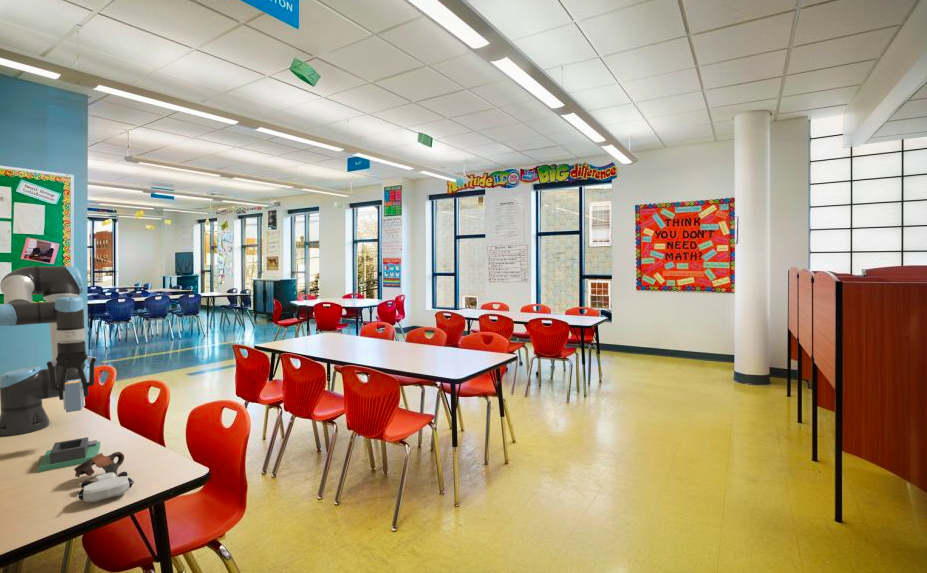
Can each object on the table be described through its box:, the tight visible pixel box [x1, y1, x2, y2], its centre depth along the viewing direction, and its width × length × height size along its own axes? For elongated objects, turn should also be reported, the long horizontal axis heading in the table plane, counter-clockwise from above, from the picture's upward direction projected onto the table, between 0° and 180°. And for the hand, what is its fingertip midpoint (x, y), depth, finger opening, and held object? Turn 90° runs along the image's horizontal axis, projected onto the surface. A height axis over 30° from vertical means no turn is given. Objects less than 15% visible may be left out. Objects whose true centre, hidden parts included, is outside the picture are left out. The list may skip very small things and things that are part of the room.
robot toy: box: [76, 471, 136, 504], centre depth 128 cm, size 12×4×15 cm
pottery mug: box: [73, 451, 125, 478], centre depth 138 cm, size 12×10×8 cm
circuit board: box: [37, 436, 101, 473], centre depth 152 cm, size 16×14×5 cm
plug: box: [65, 379, 83, 413], centre depth 163 cm, size 6×4×10 cm, turn 35°
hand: (74, 407), depth 163 cm, fingers closed on plug, 4 cm apart
